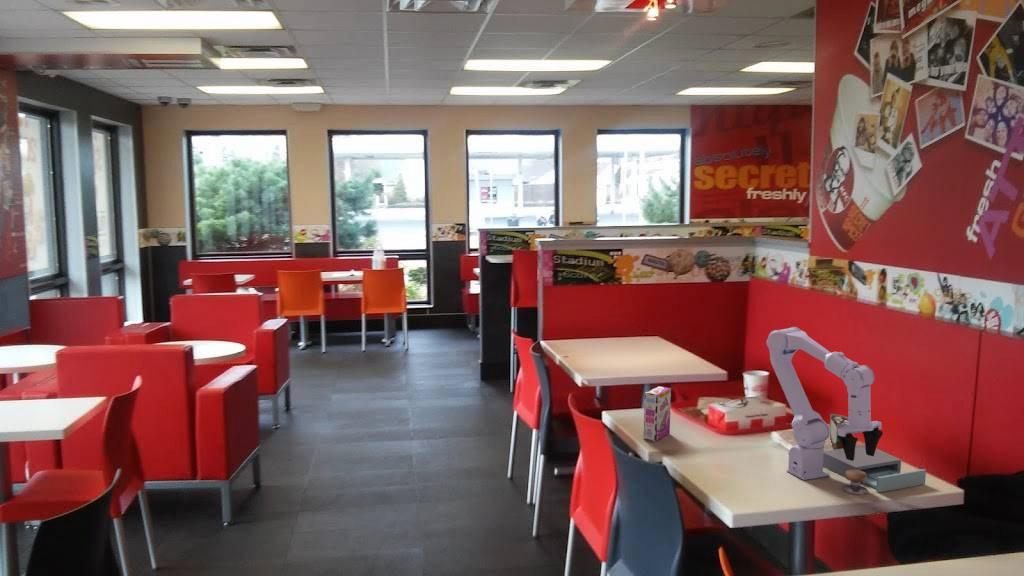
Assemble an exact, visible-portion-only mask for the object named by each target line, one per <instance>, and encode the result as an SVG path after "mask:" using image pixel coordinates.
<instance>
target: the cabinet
mask: <svg viewBox="0 0 1024 576" xmlns="http://www.w3.org/2000/svg"><path fill="white" fill-rule="evenodd" d="M883 466H885V467H888V468H890V469H892V470H895V471H897V472H899V473H901V469H902V467H901V466H902V459H901V458H898V457H896V456H893V455H891V454H889V453H886V452H883V451H881V450H879V449H877V448H876V450H875V454H874V456H869V455H866V449H865V444H862V445H856V446H855V457H854V461H851V460H848V459H846V455H845V452H844V449H843V448H842V449H836V450H833V449H831V450H826V451H825V450H824V459H823V468H825V469H827V470H829V471H831V472H833V473H836V474H837V475H839V476H842V477H844V478H845V476H846V471H847V470H865V469H871V468H877V467H883Z"/></svg>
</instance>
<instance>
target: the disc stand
mask: <svg viewBox="0 0 1024 576" xmlns="http://www.w3.org/2000/svg"><path fill="white" fill-rule="evenodd" d="M861 483H862V482H853V481H850V483H848V484H845V485H844V484H843V486H842V491H844V492H845V493H847V492H848V493H847V494H850V493H851V494H850V495H854V494H864V495H867V494H868V493H869V491H868V488H867V487H865V486H863V485H861ZM867 492H868V493H867ZM866 493H867V494H866Z"/></svg>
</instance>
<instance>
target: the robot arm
mask: <svg viewBox="0 0 1024 576" xmlns="http://www.w3.org/2000/svg"><path fill="white" fill-rule="evenodd" d="M765 342H766V343H765V344H766V346H767V347H768V351H769V360H770V363H771V366H772V368H773V371H774V372H775V375H776V377H777V379H778V382H779V384H780V386H781V389H782V391H783V393H784V396H785V398H786V401H787V403H788V404H789V405H788V406H789V407H790V409H791V412H792V414H793V416H794V417H793V420H792V421H791V427H792V433H793V439H794V440H795V442H796V444H795V446H792V447H790V449H789V451H788V468H787V469H786V472H787V473H789V474H791V475H794V476H796V477H797V478H799V479H801V480H805V481H806V480H807V481H808V480H812V479H817V478H819V479H820V478H823V477H830V473H828V472H826V471H824V467H823V459H824V451H825V444H826V440H828V439H829V438H830V426H829V425H828V424H827V423H826V421H825V420H824V419H823V417H822V416H821V414H820V413H818V412H817V411H815V410H813V408H812V406H811V404H810V401H809V399H808V397H807V395H806V392H805V390H804V388H803V386H802V383H801V381H800V378H799V377H798V374H797V372H796V370H795V367H794V365H793V364H792V360H793V357H794V355H795V354H796V352H798V350H802V351H804V352H805V353H806V354H809V355H810V356H812V357H814V358H815V359H817V360H819V361H821V362H822V363H823V364H824V365H823V366H824V368H825V369H826V370H828V371H829V372H831V373H832V374H833V375H835V376H837V377H838V378H840V379H841V380H843V383H844V385H845V386H846V389H847V393H848V394H847V395H848V396H847V397H848V398H847V400H848V402H847V403H848V404H847V405H848V409H847V410H848V411H847V412H848V418H849V424H848V425H846V426H844V427H841V428H838V434H837V437H838V439H839V441H840V442H841V444H842V446H843V449H844V452H845V455H846V459H848V460H851V461H854V457H855V446H857V441H858V440H859V439H858V437H854V434H858V433H862V434H863V439H864V445H865V449H866V455H869V456H874V454H875V450H876V449H877V446H878V443H879V442H880V439H881V438H882V437H883V431H882V429H883V428H882V422H881V421H878V420H873V421H872V417H871V416H872V415H871V414H872V413H871V411H872V409H871V405H872V403H871V402H872V401H871V399H872V398H871V390H872V389H871V385H873V383H874V382H875V377H876V376H875V372H874V371H873V370H872V369H871V368H870V367H869V366H868V365H865V364H863V365H862V364H861V365H859V362H857V361H853V360H851V359H849V358H847V356H845V353H844V352H842V351H839V352H838V351H833V352H831V351H829V350H828V349H826V348H825V347H824V346H822V345H821V344H819V343H818V342H817V341H816V340H814V339H813V338H811V337H810V336H808V334H807V333H806V331H803V330H801V329H800V328H798V327H796V326H792V327H791V326H790V327H789V328H784V329H783V328H782V329H774V330H772V331H771V332H770V333H769V334H768V337H767V340H766V341H765Z"/></svg>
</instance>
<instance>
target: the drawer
mask: <svg viewBox="0 0 1024 576" xmlns="http://www.w3.org/2000/svg"><path fill="white" fill-rule="evenodd" d="M860 471H863V472H865V473H866V474H867V477H866V481H865V482H862V484H866V485H867V486H869V487H872V488H874V489H875V491H876V492H877V493H878V492H879V493H884V492H888V491H889V492H891V491H894V490H900V489H906V488H912V487H916V486H921V485H926V475H927V469H925V468H923V469H915V470H910V471H905V472H900V473H899V472H897V471H895V470H892V469H890V468H888V467H885V466H883V467H874V468H868V469H862V470H860Z"/></svg>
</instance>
